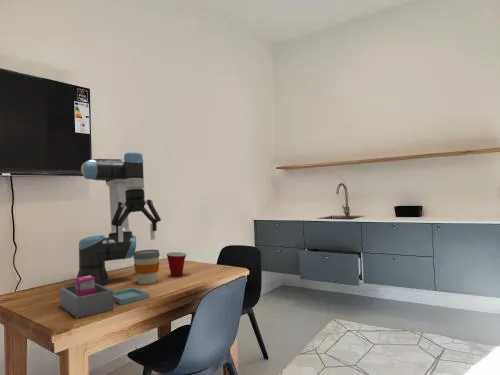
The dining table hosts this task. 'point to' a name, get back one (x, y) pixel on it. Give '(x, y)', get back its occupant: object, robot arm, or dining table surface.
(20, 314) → the dining table surface
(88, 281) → the supplement box
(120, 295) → the tray
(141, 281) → the reusable coffee cup
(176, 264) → the plastic cup
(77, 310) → the deep bin
